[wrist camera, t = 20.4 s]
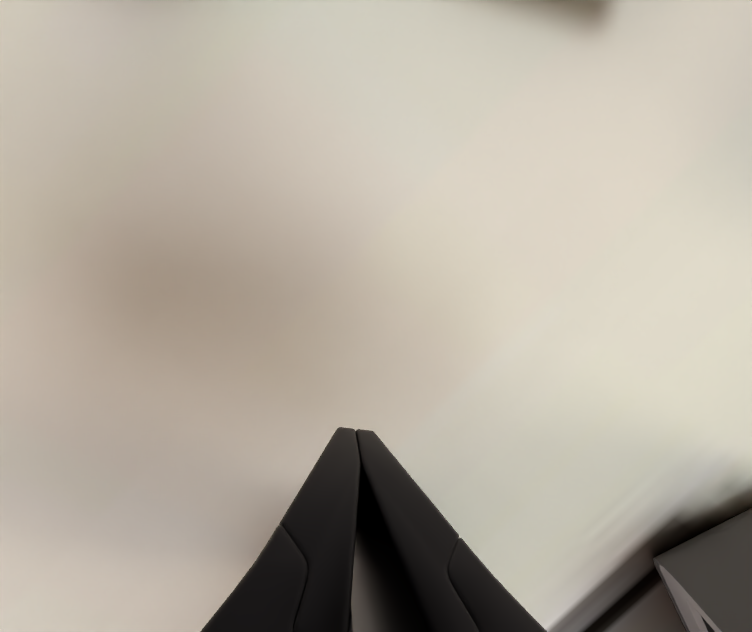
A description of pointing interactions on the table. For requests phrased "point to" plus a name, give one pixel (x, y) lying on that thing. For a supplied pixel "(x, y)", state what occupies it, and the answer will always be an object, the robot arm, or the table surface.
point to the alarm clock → (712, 577)
